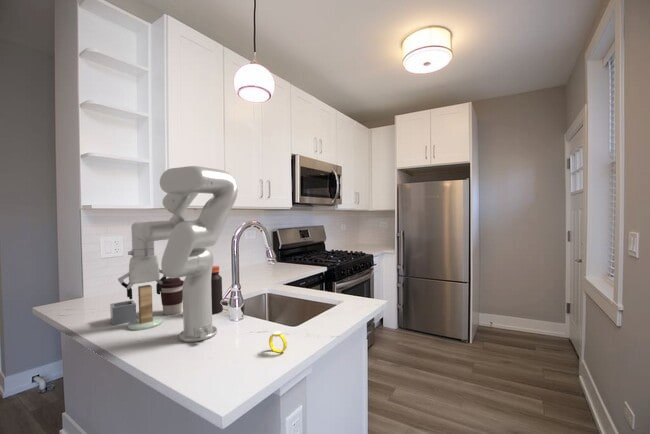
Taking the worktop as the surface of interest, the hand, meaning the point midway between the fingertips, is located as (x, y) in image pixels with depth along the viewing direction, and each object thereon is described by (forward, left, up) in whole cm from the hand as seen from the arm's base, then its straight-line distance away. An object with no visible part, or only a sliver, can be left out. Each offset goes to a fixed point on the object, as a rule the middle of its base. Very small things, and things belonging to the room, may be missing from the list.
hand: (144, 296), depth 121 cm
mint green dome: (0, 0, -11) cm, 11 cm away
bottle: (-4, -26, -11) cm, 29 cm away
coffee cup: (+9, -12, -11) cm, 19 cm away
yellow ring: (-57, -26, -12) cm, 64 cm away
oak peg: (0, 0, -10) cm, 10 cm away
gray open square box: (+12, +6, -11) cm, 18 cm away
